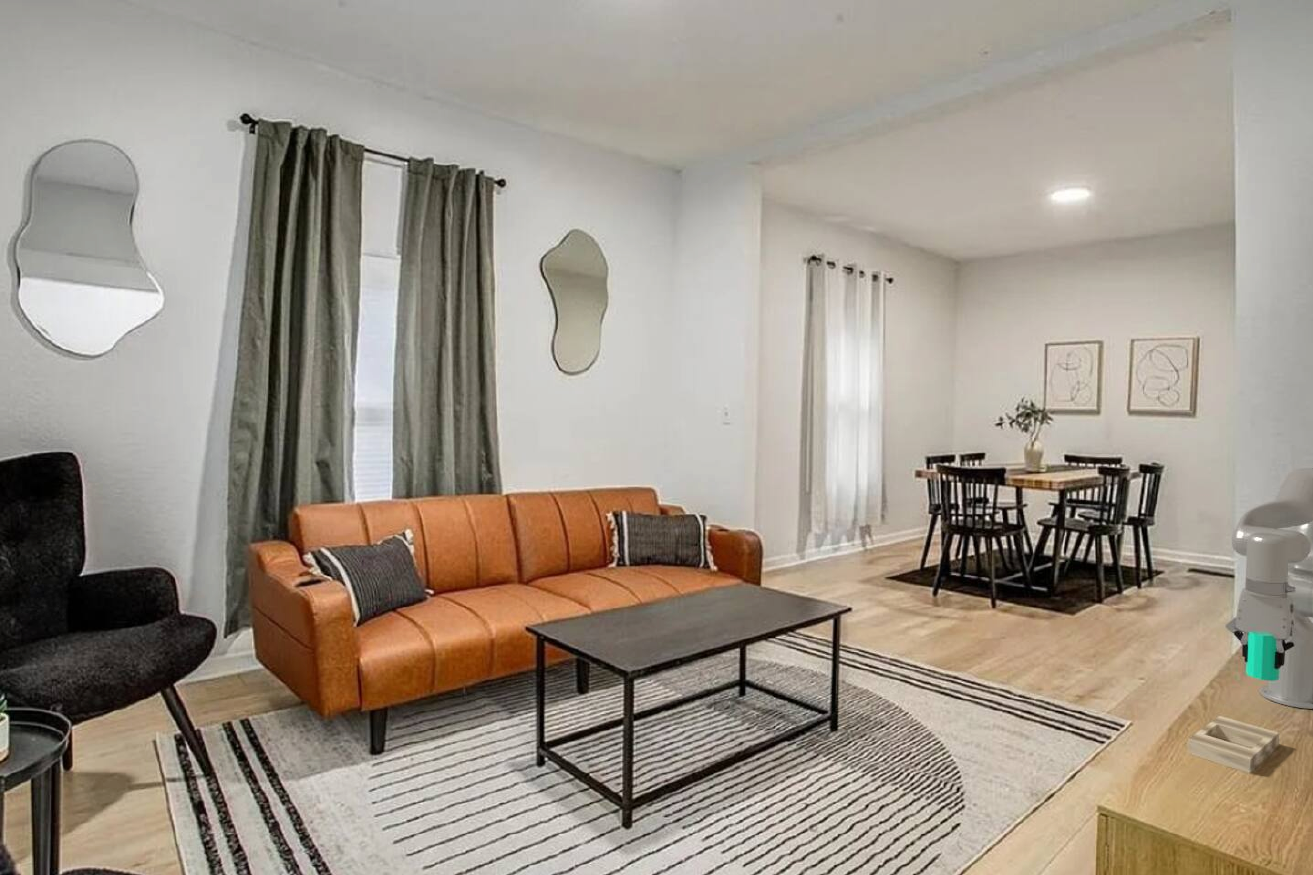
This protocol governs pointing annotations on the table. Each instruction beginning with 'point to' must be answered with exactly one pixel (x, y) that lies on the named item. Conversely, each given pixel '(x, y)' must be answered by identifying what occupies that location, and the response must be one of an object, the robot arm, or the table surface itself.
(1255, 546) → the robot arm
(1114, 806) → the table surface
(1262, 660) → the candle
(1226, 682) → the table surface
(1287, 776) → the table surface
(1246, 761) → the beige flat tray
